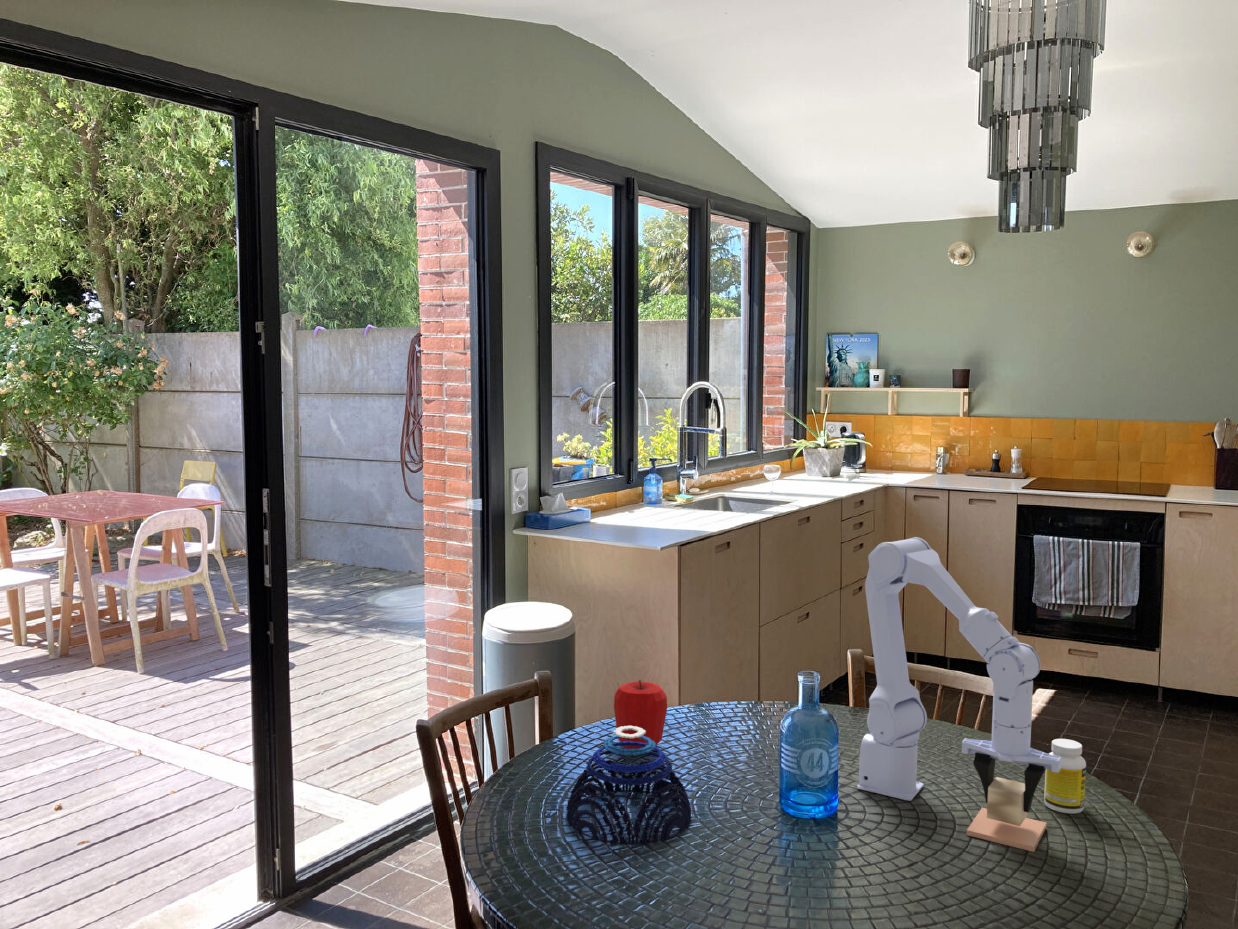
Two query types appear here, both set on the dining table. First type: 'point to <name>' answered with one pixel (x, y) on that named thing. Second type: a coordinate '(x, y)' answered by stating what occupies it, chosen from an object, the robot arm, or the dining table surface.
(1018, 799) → the maple cube
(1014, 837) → the coaster
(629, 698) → the apple
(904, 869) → the dining table surface
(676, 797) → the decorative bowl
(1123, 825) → the dining table surface
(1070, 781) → the pill bottle
